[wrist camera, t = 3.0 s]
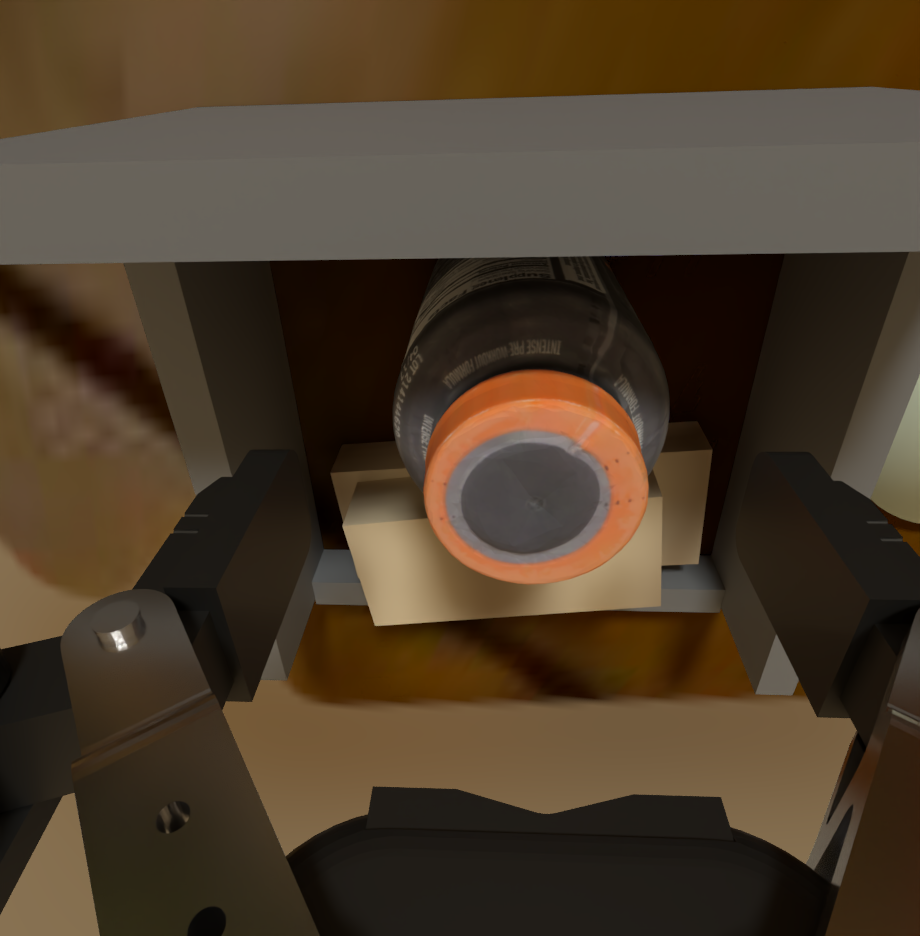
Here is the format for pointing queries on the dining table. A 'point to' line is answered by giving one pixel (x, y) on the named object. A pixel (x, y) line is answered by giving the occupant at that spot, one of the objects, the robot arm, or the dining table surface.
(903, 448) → the coaster
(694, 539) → the offcut lower
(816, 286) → the frame
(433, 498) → the pill bottle
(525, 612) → the offcut upper
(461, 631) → the dining table surface
